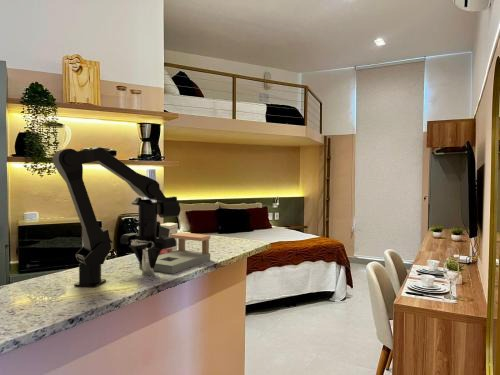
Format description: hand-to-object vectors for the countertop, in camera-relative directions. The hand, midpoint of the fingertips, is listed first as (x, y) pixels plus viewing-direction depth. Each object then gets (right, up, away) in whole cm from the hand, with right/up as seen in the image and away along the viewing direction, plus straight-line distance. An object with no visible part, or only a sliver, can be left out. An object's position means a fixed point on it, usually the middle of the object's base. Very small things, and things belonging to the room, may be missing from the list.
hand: (147, 267), depth 119 cm
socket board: (+7, -2, +13) cm, 15 cm away
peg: (0, -2, 0) cm, 2 cm away
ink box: (0, -1, +31) cm, 31 cm away
